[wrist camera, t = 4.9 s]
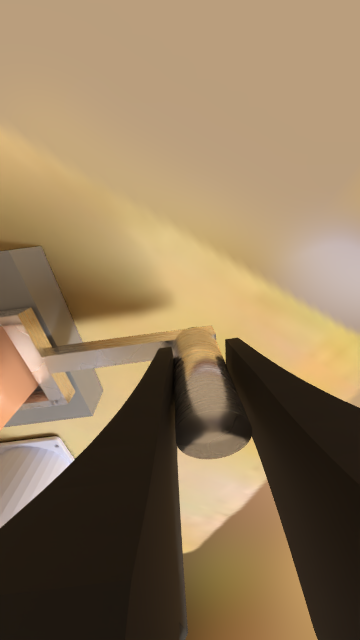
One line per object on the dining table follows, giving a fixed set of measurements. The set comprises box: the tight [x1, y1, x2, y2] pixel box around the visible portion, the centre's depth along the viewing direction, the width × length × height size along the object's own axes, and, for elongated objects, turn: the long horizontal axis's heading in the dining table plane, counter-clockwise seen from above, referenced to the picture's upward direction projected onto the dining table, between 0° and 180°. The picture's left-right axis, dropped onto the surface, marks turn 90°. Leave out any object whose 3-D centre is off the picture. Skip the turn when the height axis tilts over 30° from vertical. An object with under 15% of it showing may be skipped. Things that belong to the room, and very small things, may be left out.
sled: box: [0, 307, 252, 459], centre depth 8 cm, size 18×6×6 cm, turn 97°
